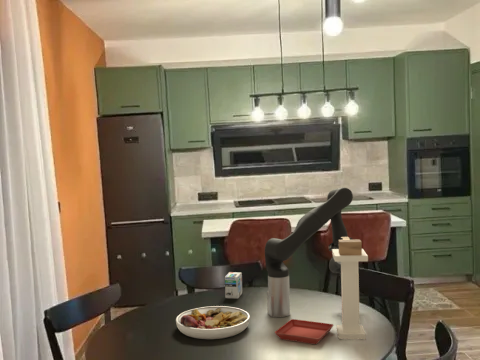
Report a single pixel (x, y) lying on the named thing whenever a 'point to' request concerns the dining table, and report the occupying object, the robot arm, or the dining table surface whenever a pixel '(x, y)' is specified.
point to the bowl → (212, 322)
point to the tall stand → (350, 295)
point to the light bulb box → (233, 285)
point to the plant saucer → (303, 331)
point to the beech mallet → (350, 246)
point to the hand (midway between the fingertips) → (346, 240)
